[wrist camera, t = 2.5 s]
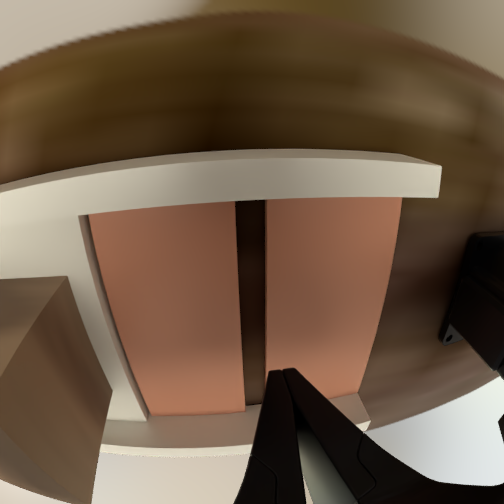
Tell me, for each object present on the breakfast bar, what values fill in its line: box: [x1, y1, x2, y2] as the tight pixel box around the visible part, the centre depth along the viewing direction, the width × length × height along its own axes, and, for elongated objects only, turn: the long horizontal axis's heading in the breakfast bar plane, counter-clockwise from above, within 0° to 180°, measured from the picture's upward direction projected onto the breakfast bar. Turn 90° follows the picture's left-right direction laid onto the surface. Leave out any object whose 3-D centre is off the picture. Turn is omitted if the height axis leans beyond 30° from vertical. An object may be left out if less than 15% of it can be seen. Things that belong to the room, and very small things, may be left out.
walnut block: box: [0, 276, 113, 504], centre depth 7 cm, size 6×6×6 cm
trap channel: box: [0, 149, 442, 457], centre depth 10 cm, size 30×13×2 cm, turn 91°
